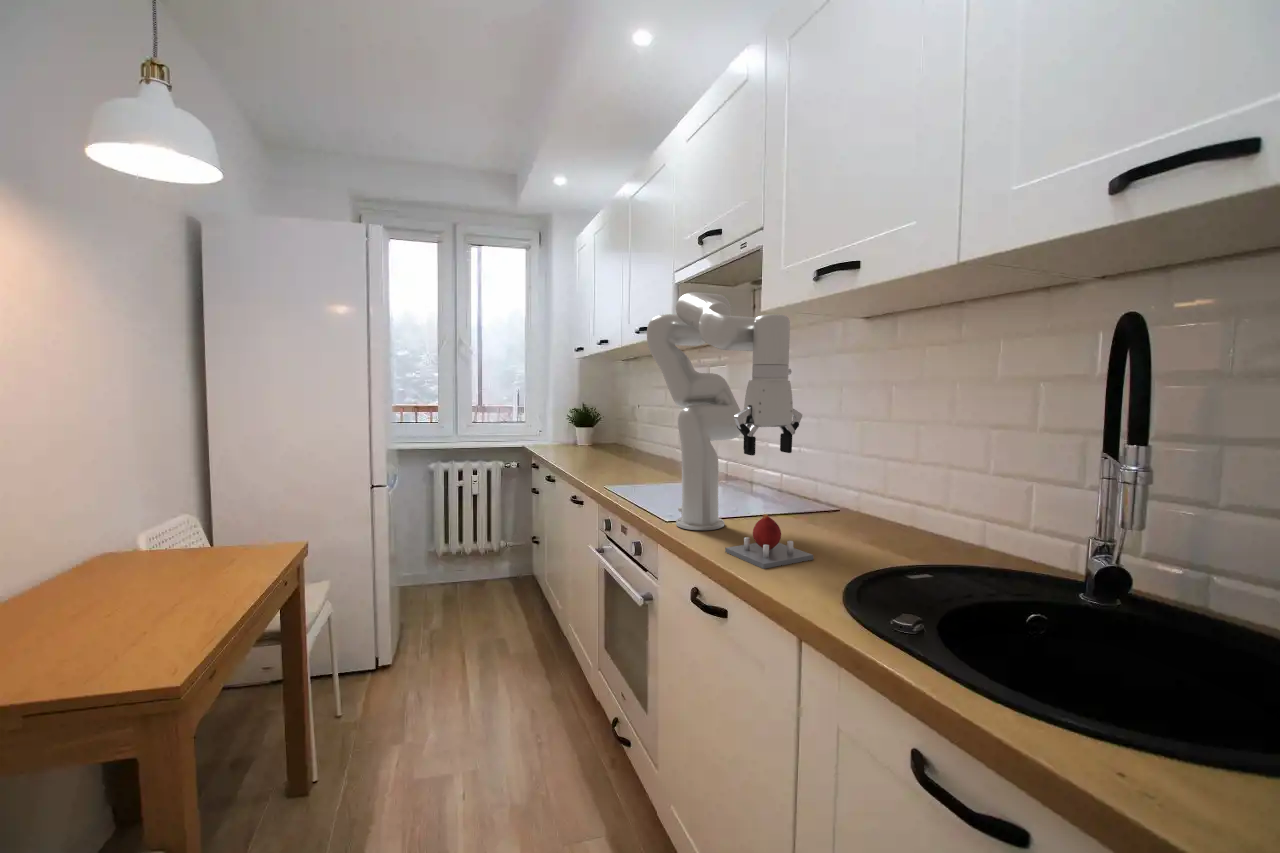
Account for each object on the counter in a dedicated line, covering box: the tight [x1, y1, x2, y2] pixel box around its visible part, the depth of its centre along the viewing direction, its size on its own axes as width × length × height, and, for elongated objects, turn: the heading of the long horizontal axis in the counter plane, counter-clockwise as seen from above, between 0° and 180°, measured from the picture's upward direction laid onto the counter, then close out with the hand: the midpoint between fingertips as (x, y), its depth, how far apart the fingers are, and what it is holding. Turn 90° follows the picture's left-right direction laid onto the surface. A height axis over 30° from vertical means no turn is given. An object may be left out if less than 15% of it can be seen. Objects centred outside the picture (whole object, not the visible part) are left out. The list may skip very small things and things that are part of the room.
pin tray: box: [724, 536, 814, 570], centre depth 120 cm, size 13×13×4 cm
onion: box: [752, 513, 782, 551], centre depth 119 cm, size 6×6×8 cm
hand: (767, 453), depth 121 cm, fingers open, 9 cm apart
